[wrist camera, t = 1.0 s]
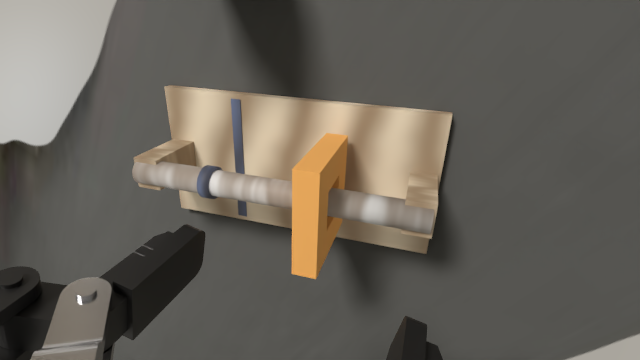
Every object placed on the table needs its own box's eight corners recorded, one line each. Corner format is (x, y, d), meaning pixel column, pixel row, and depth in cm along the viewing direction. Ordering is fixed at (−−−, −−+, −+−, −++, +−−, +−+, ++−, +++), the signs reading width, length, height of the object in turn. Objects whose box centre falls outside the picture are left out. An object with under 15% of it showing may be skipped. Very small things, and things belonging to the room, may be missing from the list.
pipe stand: (452, 112, 31) (456, 139, 24) (426, 248, 37) (424, 302, 30) (170, 85, 38) (110, 100, 31) (186, 203, 44) (138, 239, 37)
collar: (348, 135, 32) (320, 173, 24) (342, 222, 36) (316, 279, 28) (326, 133, 33) (292, 168, 25) (322, 218, 37) (291, 273, 29)
